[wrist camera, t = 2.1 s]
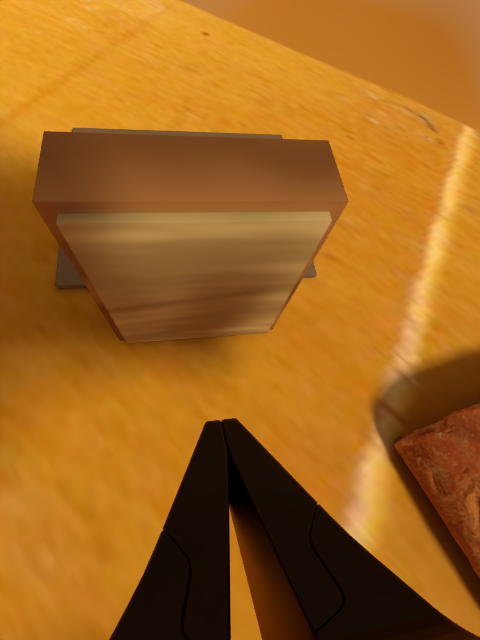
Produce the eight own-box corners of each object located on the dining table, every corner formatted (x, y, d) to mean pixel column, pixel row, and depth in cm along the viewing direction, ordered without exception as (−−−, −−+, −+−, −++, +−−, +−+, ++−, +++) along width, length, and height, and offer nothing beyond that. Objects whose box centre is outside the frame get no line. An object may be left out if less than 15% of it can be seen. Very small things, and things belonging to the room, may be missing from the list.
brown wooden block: (273, 334, 22) (351, 210, 11) (120, 346, 20) (30, 212, 9) (265, 291, 23) (328, 140, 12) (121, 298, 21) (43, 131, 10)
